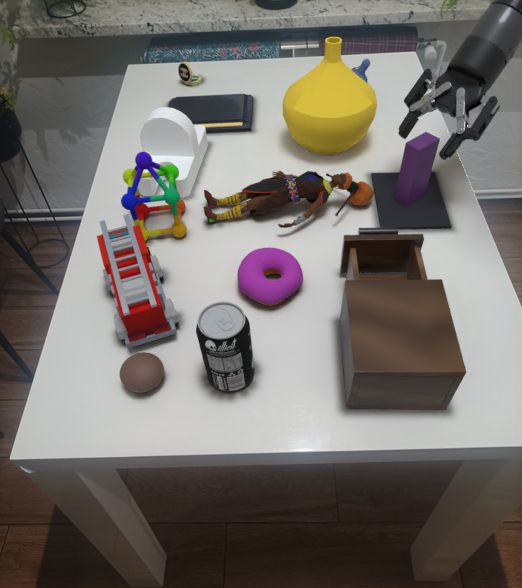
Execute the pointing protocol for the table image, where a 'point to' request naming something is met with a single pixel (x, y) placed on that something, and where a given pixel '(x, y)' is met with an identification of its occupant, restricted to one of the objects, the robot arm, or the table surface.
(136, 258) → the toy fire truck
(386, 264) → the drawer
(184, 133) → the bracket
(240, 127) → the wallet
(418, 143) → the purple rectangular block
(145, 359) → the egg
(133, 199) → the model
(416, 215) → the mat
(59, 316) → the table surface
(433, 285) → the cabinet
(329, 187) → the figurine
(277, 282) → the donut
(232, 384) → the beverage can
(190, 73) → the eyeshadow
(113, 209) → the table surface
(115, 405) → the table surface
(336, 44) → the vase
